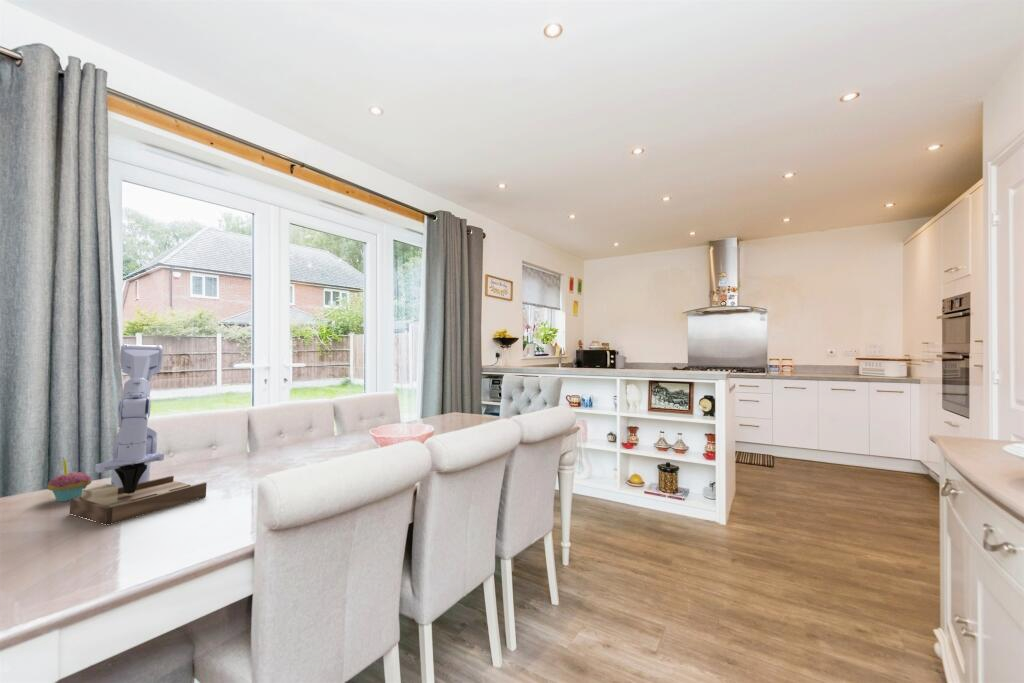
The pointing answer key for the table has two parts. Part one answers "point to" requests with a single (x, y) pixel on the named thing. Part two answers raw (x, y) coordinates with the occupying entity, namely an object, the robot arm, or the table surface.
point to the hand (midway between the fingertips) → (129, 492)
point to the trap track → (139, 500)
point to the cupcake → (68, 484)
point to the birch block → (101, 494)
